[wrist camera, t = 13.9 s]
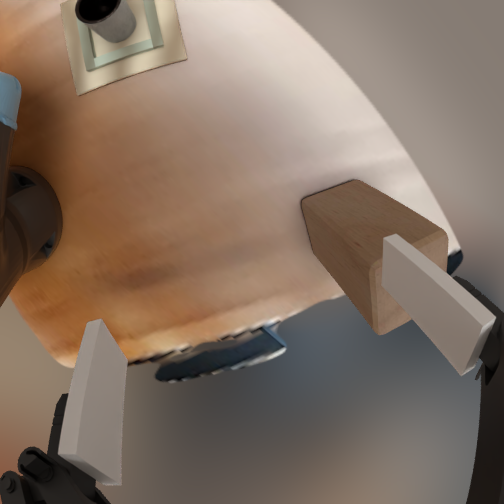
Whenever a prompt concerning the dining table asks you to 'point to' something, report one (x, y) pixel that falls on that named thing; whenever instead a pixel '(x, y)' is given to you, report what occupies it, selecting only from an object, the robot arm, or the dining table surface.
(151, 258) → the dining table surface
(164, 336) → the dining table surface
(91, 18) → the grey hollow tube
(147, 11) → the stand
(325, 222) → the block
